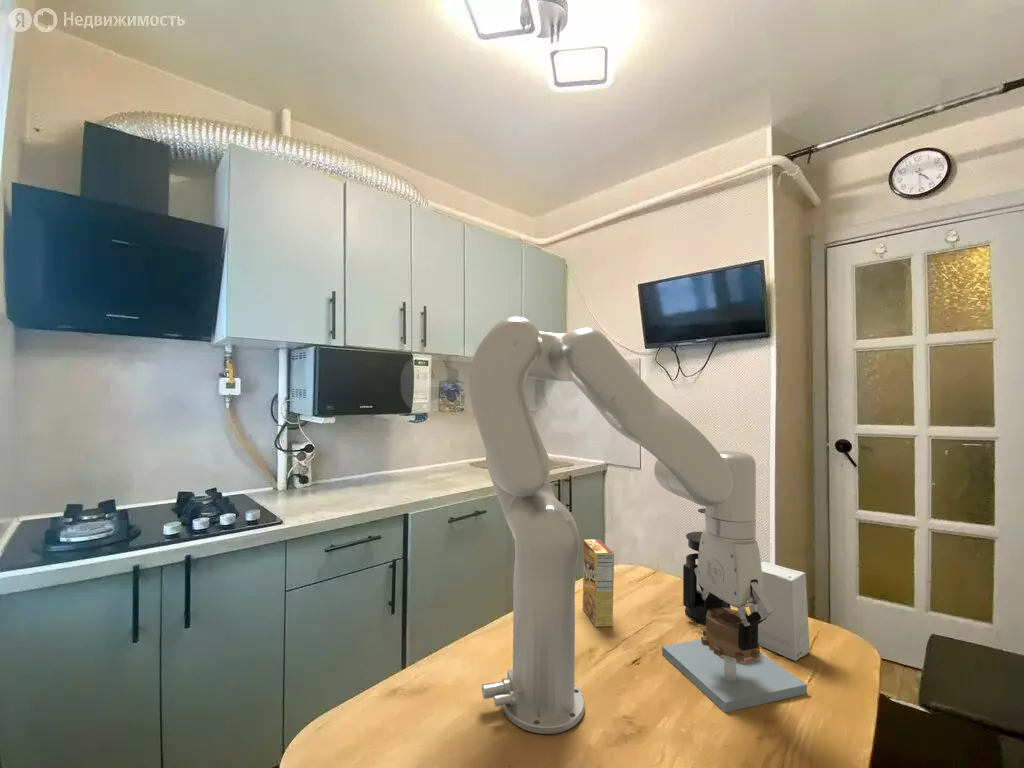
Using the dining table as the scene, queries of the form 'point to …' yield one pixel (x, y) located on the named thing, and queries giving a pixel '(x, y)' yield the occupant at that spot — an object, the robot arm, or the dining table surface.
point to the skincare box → (785, 612)
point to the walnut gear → (725, 634)
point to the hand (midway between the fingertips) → (729, 634)
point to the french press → (694, 581)
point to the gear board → (746, 675)
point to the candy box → (598, 582)
